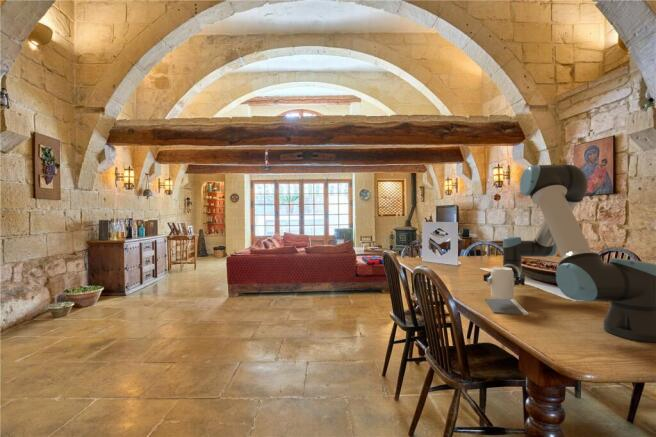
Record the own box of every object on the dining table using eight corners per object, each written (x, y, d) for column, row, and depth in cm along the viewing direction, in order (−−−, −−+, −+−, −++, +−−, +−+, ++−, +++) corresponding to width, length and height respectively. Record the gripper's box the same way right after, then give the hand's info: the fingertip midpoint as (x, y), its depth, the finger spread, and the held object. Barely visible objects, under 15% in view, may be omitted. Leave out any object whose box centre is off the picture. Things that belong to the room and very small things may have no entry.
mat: (528, 315, 125) (528, 313, 125) (493, 313, 128) (493, 311, 128) (514, 301, 144) (514, 299, 144) (484, 299, 147) (484, 298, 147)
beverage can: (493, 300, 131) (493, 269, 130) (488, 294, 138) (488, 266, 138) (516, 301, 129) (516, 270, 128) (510, 295, 137) (510, 266, 136)
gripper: (536, 284, 142) (530, 296, 123) (484, 279, 154) (472, 289, 136) (536, 267, 142) (530, 276, 123) (483, 263, 154) (472, 271, 135)
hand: (500, 283), depth 129 cm, fingers closed on beverage can, 8 cm apart
